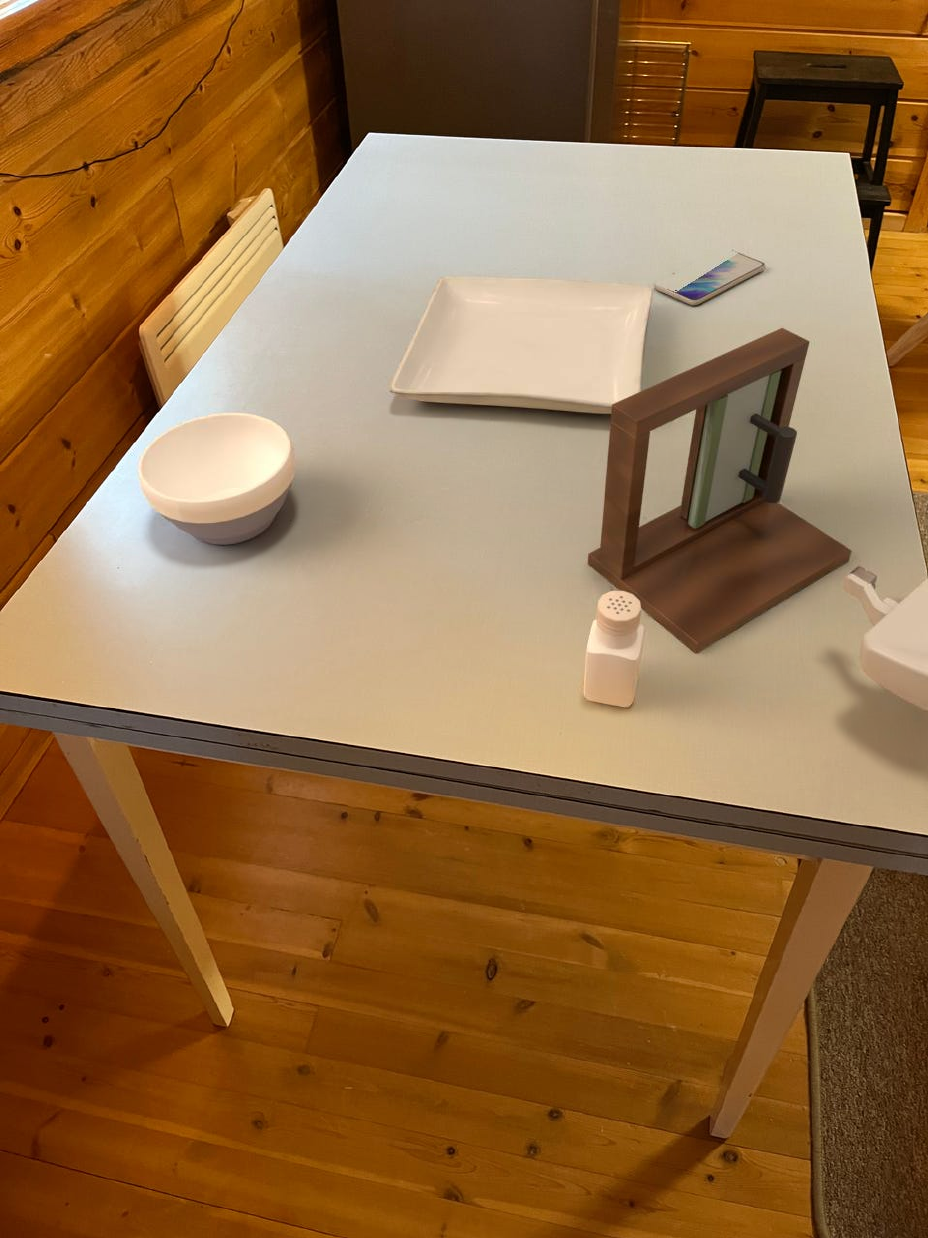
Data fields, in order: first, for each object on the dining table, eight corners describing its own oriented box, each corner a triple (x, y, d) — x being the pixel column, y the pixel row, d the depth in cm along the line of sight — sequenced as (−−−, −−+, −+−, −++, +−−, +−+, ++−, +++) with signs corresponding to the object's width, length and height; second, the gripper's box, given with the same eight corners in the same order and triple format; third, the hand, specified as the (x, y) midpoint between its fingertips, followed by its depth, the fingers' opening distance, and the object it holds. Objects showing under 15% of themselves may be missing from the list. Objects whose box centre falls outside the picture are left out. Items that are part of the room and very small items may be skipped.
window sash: (787, 521, 85) (822, 391, 75) (729, 554, 82) (757, 423, 72) (744, 493, 88) (772, 365, 78) (687, 524, 85) (709, 394, 75)
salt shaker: (631, 712, 73) (642, 628, 66) (581, 702, 74) (587, 619, 67) (639, 674, 76) (650, 590, 69) (590, 665, 77) (597, 582, 70)
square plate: (441, 300, 122) (439, 271, 119) (651, 311, 118) (654, 282, 115) (389, 414, 104) (385, 384, 101) (636, 433, 99) (639, 402, 96)
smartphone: (768, 263, 123) (694, 301, 117) (766, 269, 124) (693, 308, 118) (724, 246, 127) (651, 282, 121) (723, 252, 128) (650, 288, 121)
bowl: (328, 485, 95) (317, 422, 90) (266, 578, 86) (249, 514, 80) (203, 464, 99) (185, 402, 93) (130, 552, 89) (105, 489, 84)
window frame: (849, 560, 84) (907, 389, 71) (695, 653, 77) (730, 482, 64) (734, 485, 92) (768, 320, 80) (587, 563, 85) (599, 395, 73)
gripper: (1175, 518, 63) (986, 433, 71) (978, 707, 59) (802, 594, 67) (1146, 576, 68) (972, 490, 76) (962, 754, 64) (800, 643, 72)
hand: (891, 540), depth 72 cm, fingers open, 8 cm apart
